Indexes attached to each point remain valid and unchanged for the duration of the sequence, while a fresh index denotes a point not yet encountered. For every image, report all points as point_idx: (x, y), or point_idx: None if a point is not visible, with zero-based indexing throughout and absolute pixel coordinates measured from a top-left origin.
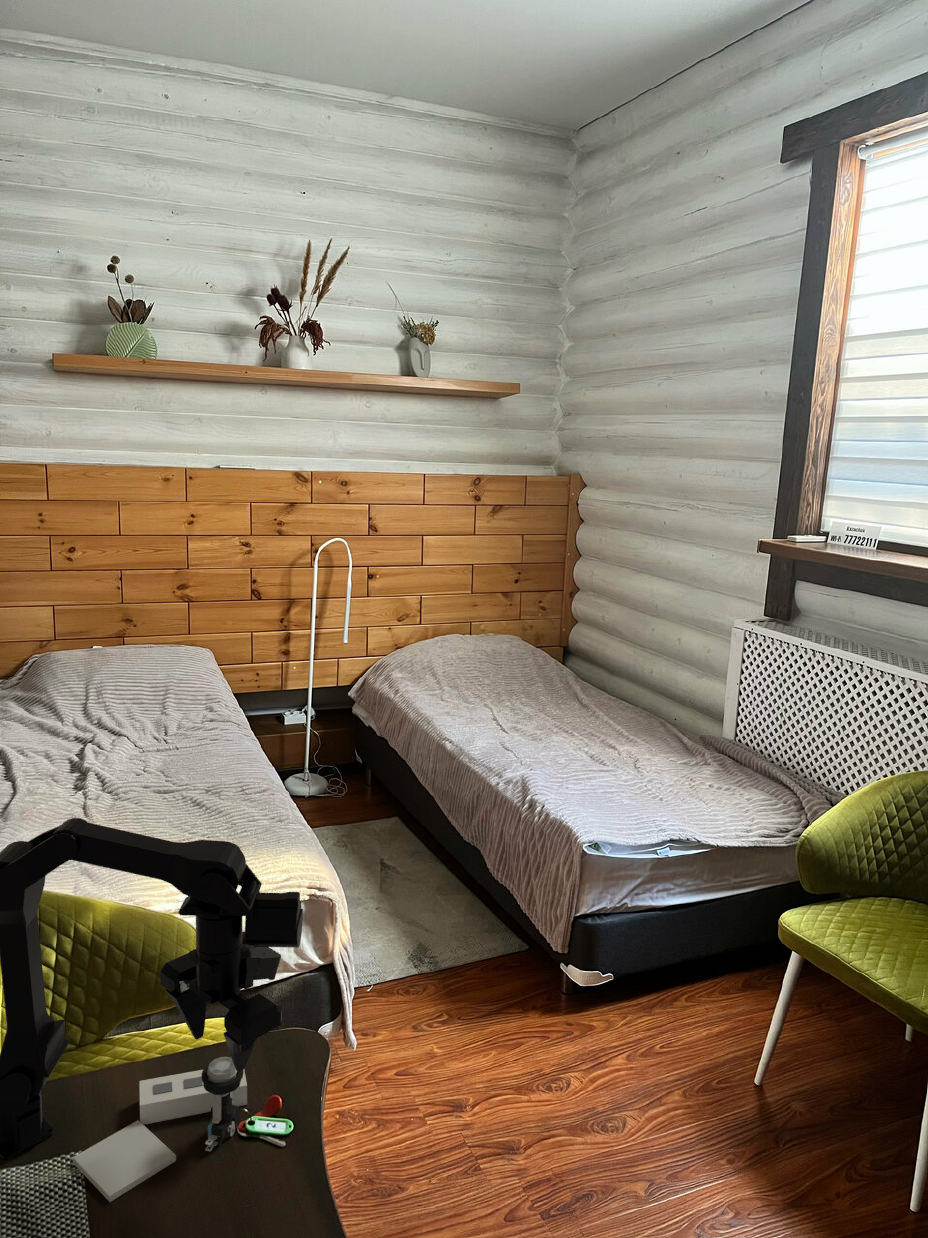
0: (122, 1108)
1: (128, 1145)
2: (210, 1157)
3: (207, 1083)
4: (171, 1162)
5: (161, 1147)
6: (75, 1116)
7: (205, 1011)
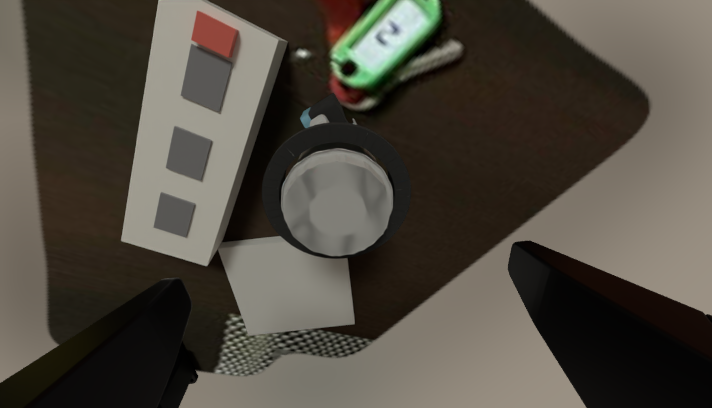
0: None
1: (272, 279)
2: None
3: (353, 255)
4: None
5: None
6: None
7: (47, 393)
